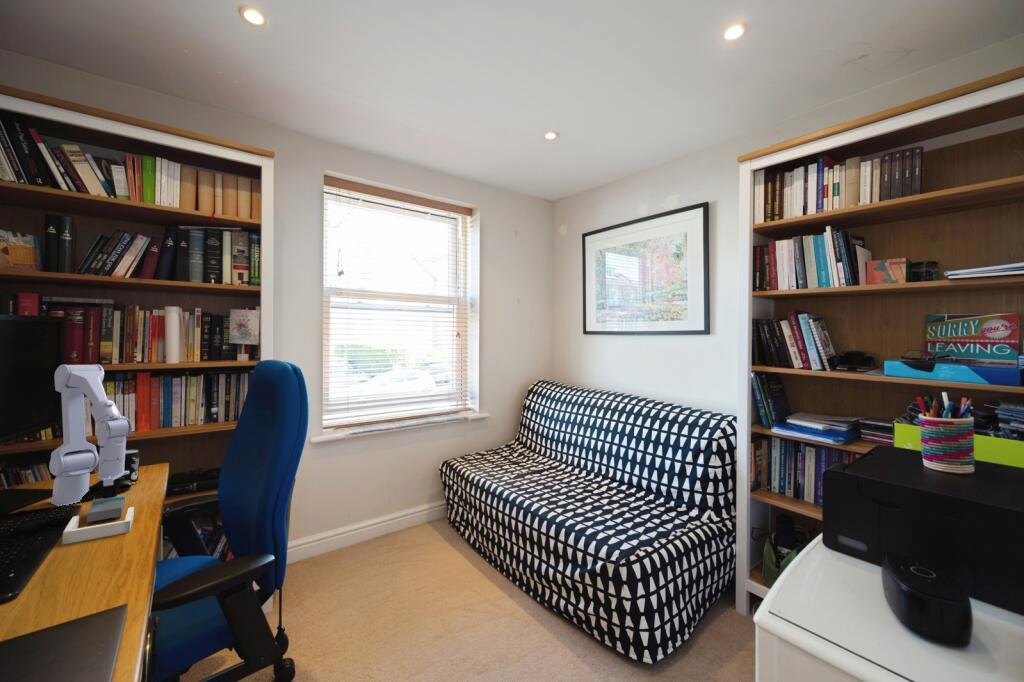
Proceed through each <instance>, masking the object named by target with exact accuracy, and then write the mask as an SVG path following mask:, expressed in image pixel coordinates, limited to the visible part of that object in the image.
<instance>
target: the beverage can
mask: <svg viewBox="0 0 1024 682" xmlns="http://www.w3.org/2000/svg"><path fill="white" fill-rule="evenodd" d="M139 468H140V453H139V450H138V449H125V465H124V471H129V474H126V475H123V476H121V477H124V479H125V480H130V481H131V482H136V481H139V471H140V470H139ZM136 483H137V482H136Z"/></svg>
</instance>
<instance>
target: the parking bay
mask: <svg viewBox="0 0 1024 682" xmlns="http://www.w3.org/2000/svg"><path fill="white" fill-rule="evenodd" d="M134 513H135V506H130V507H128V509H127V511H126V515H125V519H124V520H120V521H115V522H107V523H103V524H97V525H92V526H85V527H80V528H79V526H80V515H75V516H74V515H73V516H72V518H71V519H70V521H69V522H68V524H67V525H66V527H65V529H64V530H63V532H62V543H61V544H62V546H63V545H68V544H73V543H78V542H84V541H90V540H93V539H94V540H95V539H99V538H105V537H109V536H110V537H111V536H116V535H120V534H121V535H122V534H126V533H131V528H132V525H133V520H134V517H135V515H134Z"/></svg>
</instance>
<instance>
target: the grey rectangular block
mask: <svg viewBox="0 0 1024 682" xmlns="http://www.w3.org/2000/svg"><path fill="white" fill-rule="evenodd" d="M91 501H92V503H91V506H90V507H89V509H88V511H87V513H86V523H87V524H89V525H90V524H91V525H92V524H93V523H94V522H96V521H102V520H109V519H113V518H114V519H115V520H120V519H121V517H122V516H123V512H124V508H125V506H126V505H125V504H126V495H118V496H116V497H110V498H103V497H102V498H98V499H93V500H91Z"/></svg>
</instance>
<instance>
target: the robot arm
mask: <svg viewBox="0 0 1024 682" xmlns="http://www.w3.org/2000/svg"><path fill="white" fill-rule="evenodd" d="M53 376H54V387H55V390H54V391H56V392H59V393H61V395H60V396H61V411H62V412H61V413H62V416H61V417H62V433H63V443H62V444H61V445H60V446H58V447H57V448H56V449H54V450H52V452H50V453H51V454H50V461H49V465H48V468H49V471H50V473H51V474H52V475H53V476H55V478H54V480H53V484H52V485H53V486H52V499H48V500H47V502H48V501H49V502H48V503H50V502H51V503H50V504H52V505H55V506H57V507H59V506H62V505H66V506H70V505H69V504H71V505H74V504H73V503H75V504H78V503H77V502H80V500H81V499H82V497H83V496H84V495H85V494H86V493H87V492H88V491H89V492H90V477H91V476H90V475H91V472H93V471H94V469H95V468H96V467H97V466H98V473H97V475H96V478H97V479H98V480H99V481H98V482H97V484H96V485H97V487H98V488H99V490H100V492H101V495H102V499H103V498H110V497H117V495H118V492H119V489H120V488H121V487H120V485H121V483H122V482H123V480H124V477H121V476H123V475H126V474H129V471H124V465H125V450H127V449H126V446H127V437H129V436H130V434H131V432H132V423H131V420H130V419H129V418H127V417H126V416H124V415H121V413H120V411H119V409H118V407H117V405H116V403H115V402H114V401H113V400H110V399H108V397H107V394H106V391H105V389H104V388H105V387H104V386H103V380H104V378H105V371H104V368H103V366H102V365H100V364H96V363H95V364H61V365H59V366H58V367H57V368H56V370H55V371H54V375H53ZM84 395H85V396H86V397H87V398H88V399H89V401H90V403H91V406H90V407H89V411H90V413H91V415H92V417H93V420H94V421H95V423H96V425H97V426H96V429H95V435H96V438H97V446H99V453H98V451H97V447H96V445H95V444H92V443H91V442H88V441H87V438H86V435H87V434H86V416H85V415H86V413H85V396H84ZM80 503H81V502H80ZM62 507H63V506H62Z"/></svg>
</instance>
